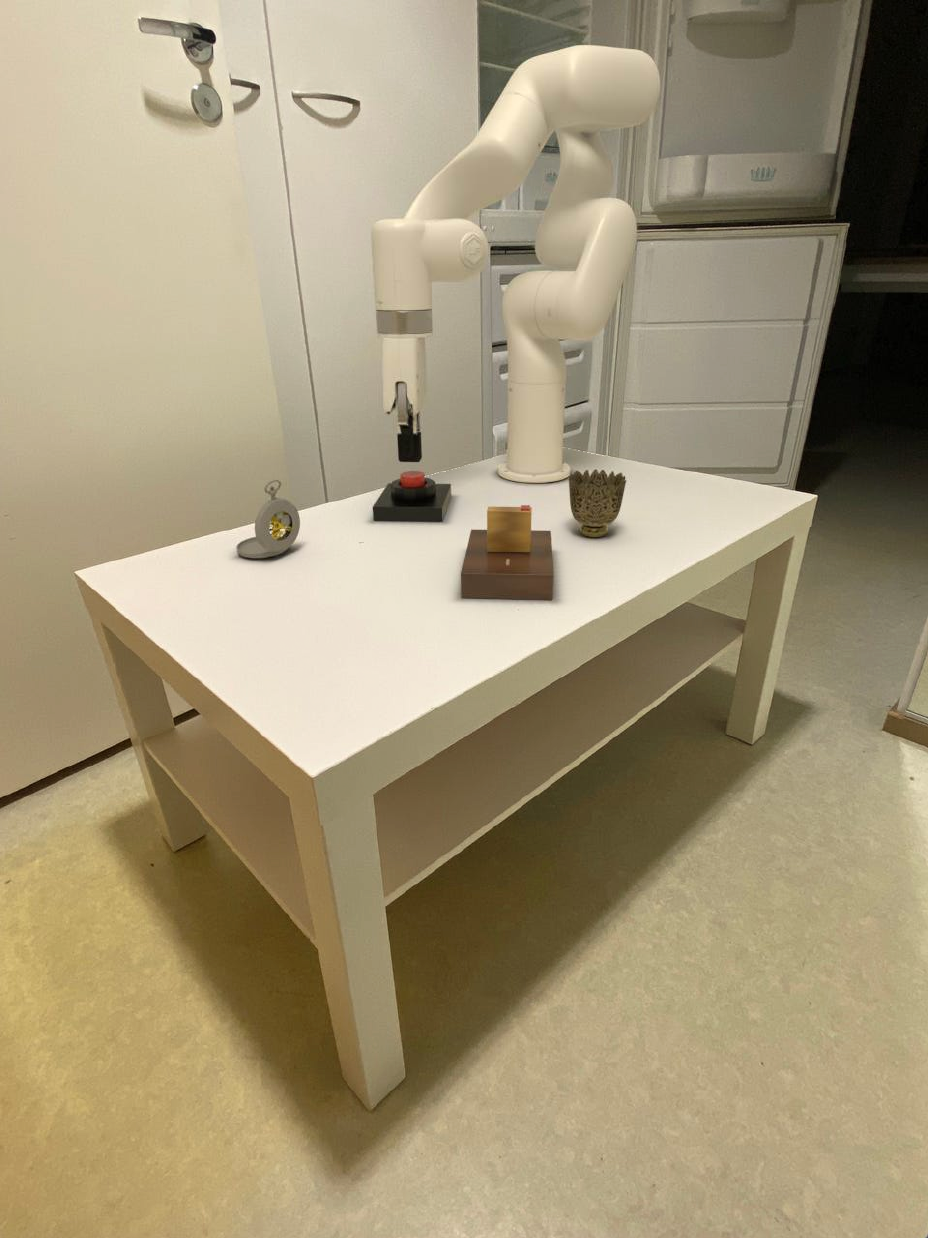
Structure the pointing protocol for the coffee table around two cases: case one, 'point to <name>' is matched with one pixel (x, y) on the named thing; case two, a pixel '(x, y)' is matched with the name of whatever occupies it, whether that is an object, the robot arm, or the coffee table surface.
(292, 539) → the pocket watch
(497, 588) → the plate
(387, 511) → the black button mount
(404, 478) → the bell button
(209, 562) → the coffee table surface
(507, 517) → the lock turn
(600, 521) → the cup
